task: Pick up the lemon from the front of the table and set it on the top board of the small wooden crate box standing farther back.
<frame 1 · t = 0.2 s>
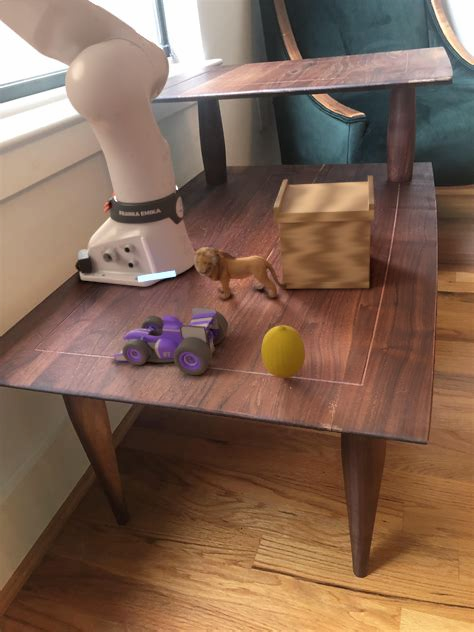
toy race car: (171, 353, 79), on the table
wooden crate box: (327, 271, 95), on the table
lemon: (285, 378, 72), on the table
lion figurine: (240, 295, 92), on the table
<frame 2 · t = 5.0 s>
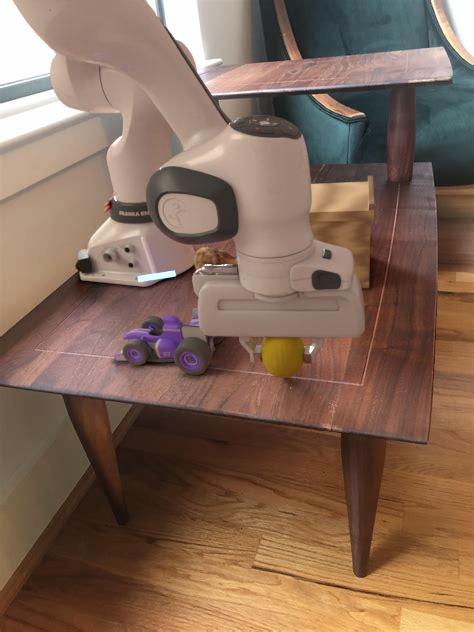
hand: (284, 360, 70), 3 cm above the table, tool pointing down, fingers closed on lemon, 5 cm apart
lemon: (285, 378, 72), on the table, touching gripper
everything else where it was.
when the fingers open (16 cm above the table, at t = 12.1 s): lemon stays where it is, resting on wooden crate box.
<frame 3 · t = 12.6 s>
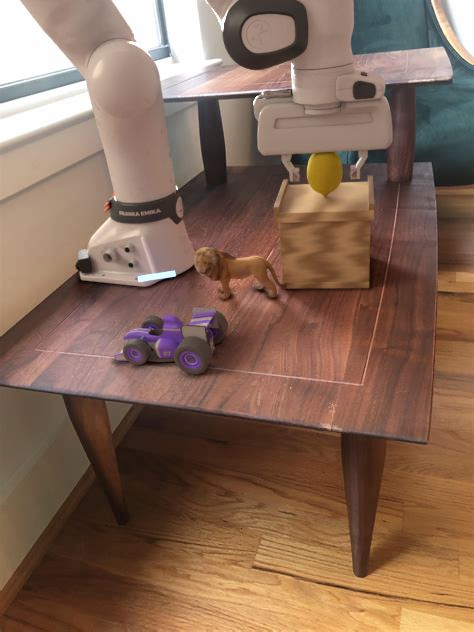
hand: (324, 179, 86), 16 cm above the table, tool pointing down, fingers open, 8 cm apart
lemon: (325, 197, 88), point 13 cm above the table, touching wooden crate box
everything else where it was.
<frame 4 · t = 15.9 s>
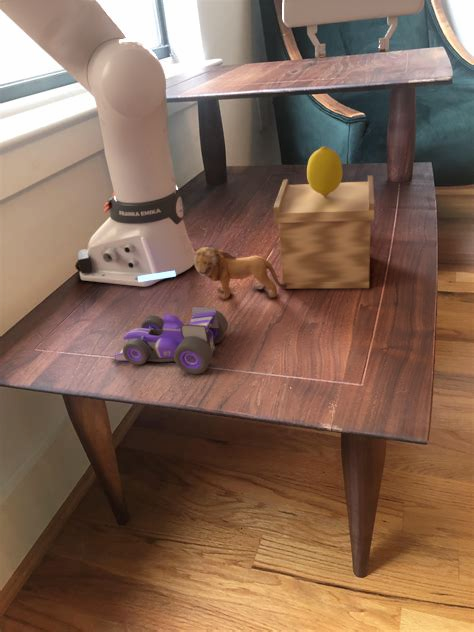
hand: (351, 54, 83), 33 cm above the table, tool pointing down, fingers open, 8 cm apart
nothing on the table moved.
at the end: lemon inside the target area on the wooden crate box (0.1 cm from its centre), point 13.4 cm above the wooden crate box's base; the gripper is holding nothing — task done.
